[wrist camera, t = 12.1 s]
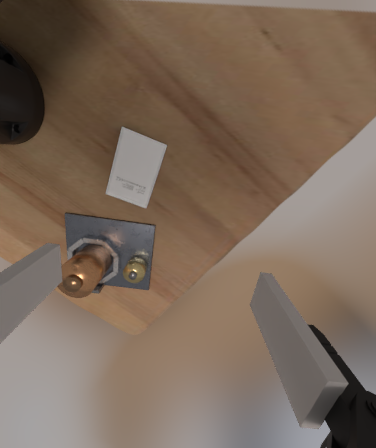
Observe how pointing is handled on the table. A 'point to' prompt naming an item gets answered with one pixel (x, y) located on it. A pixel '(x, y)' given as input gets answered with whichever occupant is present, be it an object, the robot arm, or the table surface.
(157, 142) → the external hard drive
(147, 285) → the plate
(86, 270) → the copper knobbed cylinder
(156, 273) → the table surface
